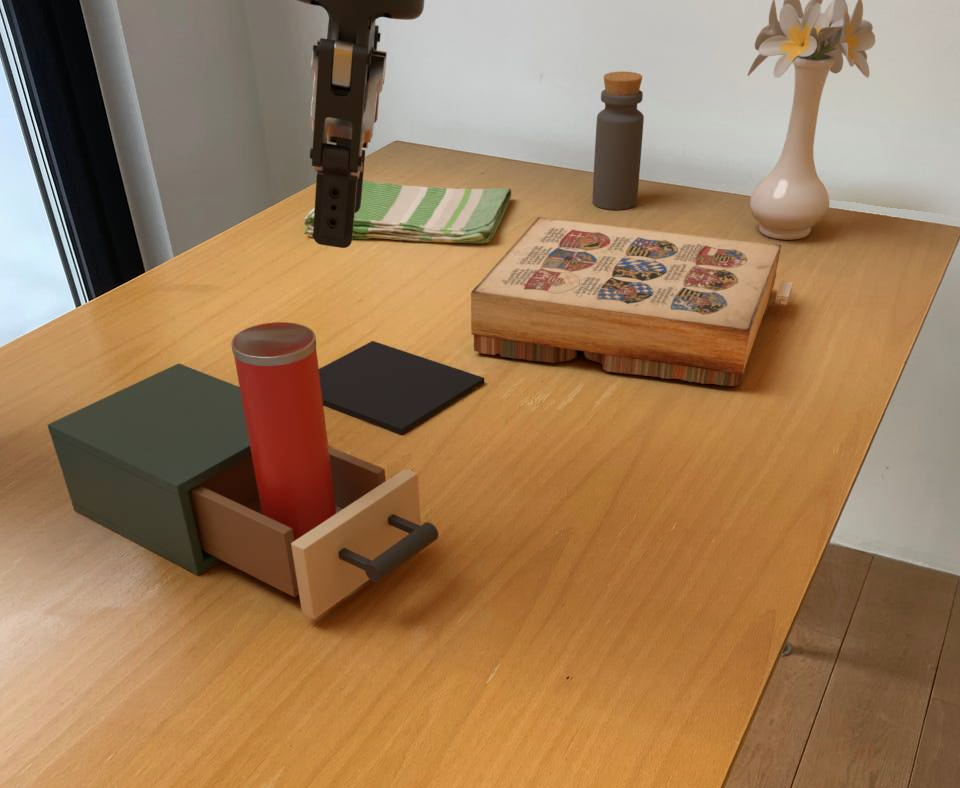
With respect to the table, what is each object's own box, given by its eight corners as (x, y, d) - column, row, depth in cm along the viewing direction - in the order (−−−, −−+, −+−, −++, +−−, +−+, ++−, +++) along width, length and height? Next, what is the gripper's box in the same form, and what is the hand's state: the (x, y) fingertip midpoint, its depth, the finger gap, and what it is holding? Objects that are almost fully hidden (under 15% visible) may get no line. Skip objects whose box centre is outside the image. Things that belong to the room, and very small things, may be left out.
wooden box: (791, 297, 113) (543, 265, 120) (803, 237, 109) (545, 208, 116) (759, 399, 95) (471, 355, 103) (771, 333, 91) (470, 292, 98)
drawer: (464, 559, 75) (462, 490, 71) (357, 642, 68) (349, 570, 64) (291, 483, 83) (281, 418, 79) (181, 551, 76) (164, 483, 73)
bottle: (583, 200, 138) (589, 73, 128) (621, 193, 140) (630, 67, 130) (607, 213, 134) (616, 83, 124) (645, 205, 136) (656, 77, 126)
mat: (287, 391, 97) (286, 385, 97) (373, 346, 105) (372, 340, 104) (401, 435, 91) (401, 429, 90) (484, 383, 98) (484, 377, 98)
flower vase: (833, 208, 134) (879, -20, 118) (837, 260, 120) (889, 10, 104) (730, 202, 136) (761, -23, 120) (722, 252, 123) (756, 7, 106)
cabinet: (319, 499, 83) (307, 413, 78) (198, 576, 76) (177, 486, 71) (196, 445, 90) (178, 362, 85) (74, 510, 82) (46, 424, 77)
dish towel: (491, 248, 125) (490, 225, 123) (302, 239, 128) (299, 216, 126) (511, 199, 138) (511, 178, 136) (340, 193, 141) (338, 171, 139)
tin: (250, 539, 75) (213, 343, 66) (302, 506, 79) (274, 315, 69) (303, 564, 73) (272, 365, 63) (354, 530, 76) (332, 334, 66)
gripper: (302, -107, 60) (288, 192, 69) (271, -114, 48) (259, 248, 57) (433, -82, 61) (401, 210, 70) (433, -84, 49) (396, 268, 58)
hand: (337, 226), depth 63 cm, fingers open, 8 cm apart
